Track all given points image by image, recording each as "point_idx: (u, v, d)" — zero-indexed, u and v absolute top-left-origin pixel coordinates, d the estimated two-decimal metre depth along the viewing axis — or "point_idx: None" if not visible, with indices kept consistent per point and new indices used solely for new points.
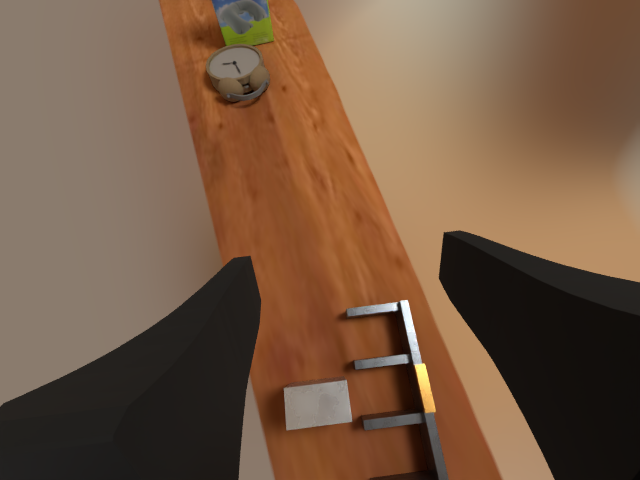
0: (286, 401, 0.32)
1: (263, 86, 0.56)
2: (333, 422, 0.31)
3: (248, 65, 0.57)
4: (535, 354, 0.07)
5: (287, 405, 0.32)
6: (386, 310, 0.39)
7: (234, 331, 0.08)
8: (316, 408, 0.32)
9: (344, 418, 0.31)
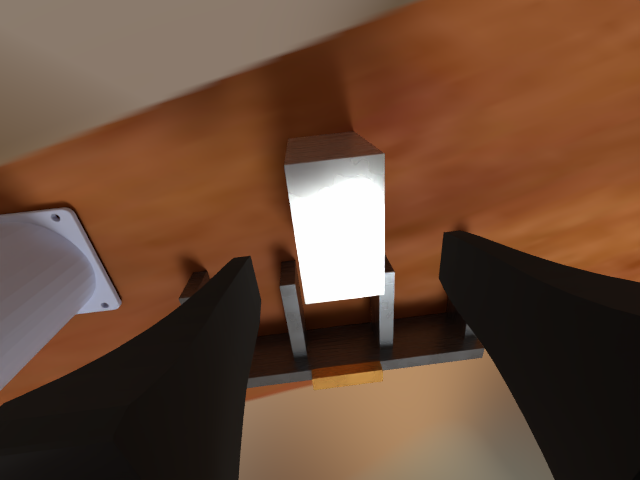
0: (351, 162, 0.12)
1: None
2: (302, 272, 0.14)
3: None
4: (535, 354, 0.07)
5: (341, 165, 0.12)
6: None
7: (234, 331, 0.08)
8: (332, 236, 0.13)
9: (311, 290, 0.14)
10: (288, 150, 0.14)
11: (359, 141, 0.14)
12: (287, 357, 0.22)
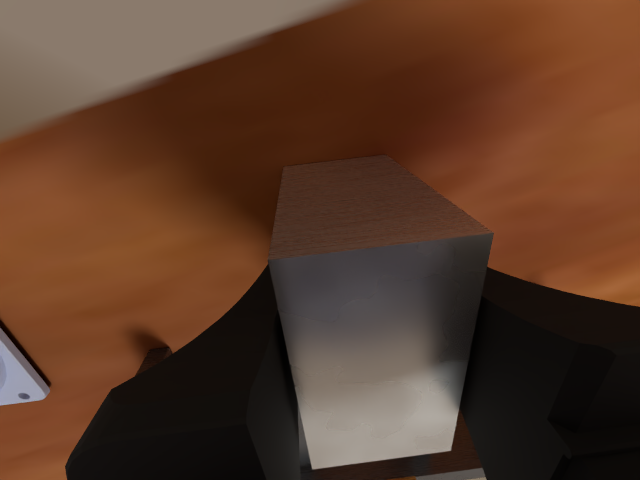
0: (418, 251, 0.05)
1: None
2: (308, 429, 0.07)
3: None
4: (471, 362, 0.07)
5: (396, 257, 0.05)
6: None
7: None
8: (367, 377, 0.07)
9: (322, 452, 0.08)
10: (281, 200, 0.08)
11: (409, 182, 0.08)
12: None
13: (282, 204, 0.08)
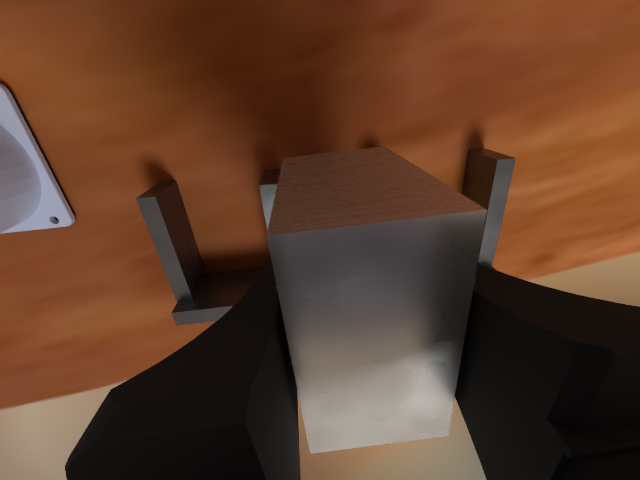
0: (413, 228, 0.05)
1: None
2: (305, 411, 0.08)
3: None
4: (471, 362, 0.07)
5: (392, 234, 0.05)
6: (483, 243, 0.18)
7: None
8: (364, 358, 0.07)
9: (320, 435, 0.08)
10: (280, 186, 0.08)
11: (406, 169, 0.08)
12: None
13: (281, 189, 0.08)
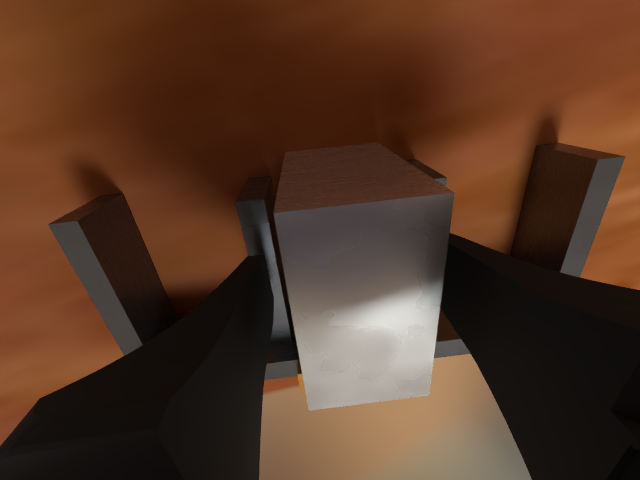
0: (394, 208, 0.07)
1: None
2: (305, 370, 0.09)
3: None
4: (514, 357, 0.07)
5: (376, 213, 0.07)
6: None
7: (252, 329, 0.08)
8: (354, 321, 0.08)
9: (317, 393, 0.09)
10: (283, 175, 0.09)
11: (394, 161, 0.09)
12: None
13: (284, 178, 0.09)
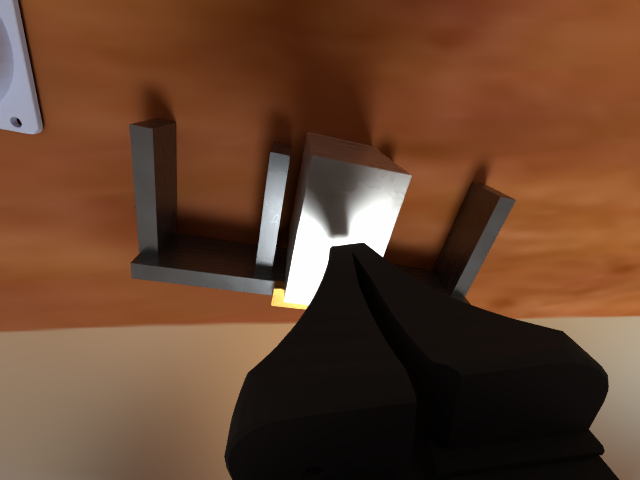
0: (378, 174, 0.11)
1: None
2: (292, 268, 0.13)
3: None
4: None
5: (368, 174, 0.11)
6: (464, 273, 0.19)
7: None
8: (334, 241, 0.13)
9: (294, 290, 0.14)
10: (311, 142, 0.14)
11: (381, 156, 0.14)
12: (246, 264, 0.18)
13: (312, 144, 0.13)
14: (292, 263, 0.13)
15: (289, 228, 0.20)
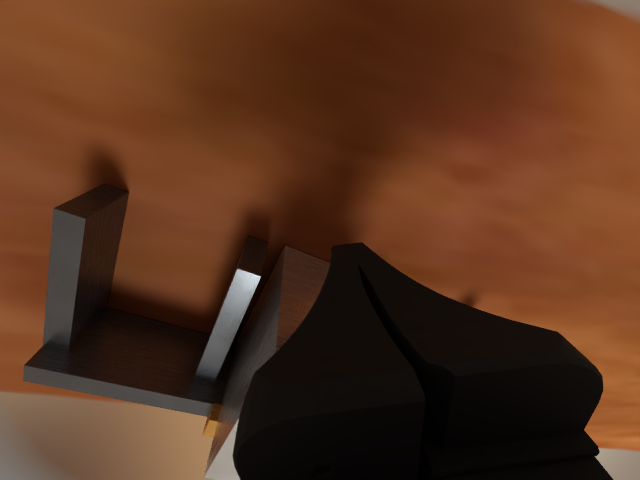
0: None
1: None
2: (222, 450, 0.10)
3: None
4: None
5: None
6: None
7: None
8: None
9: (219, 468, 0.11)
10: (283, 294, 0.11)
11: None
12: (184, 369, 0.15)
13: (283, 299, 0.11)
14: (223, 446, 0.10)
15: (241, 333, 0.17)
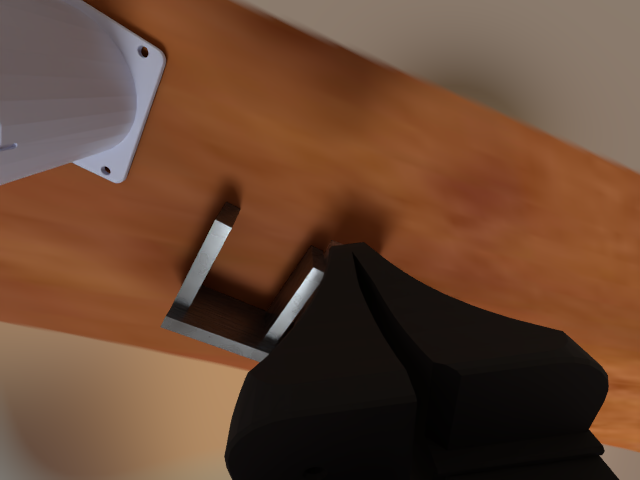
0: None
1: None
2: None
3: None
4: None
5: None
6: None
7: None
8: None
9: None
10: None
11: None
12: (256, 332, 0.21)
13: None
14: None
15: None
